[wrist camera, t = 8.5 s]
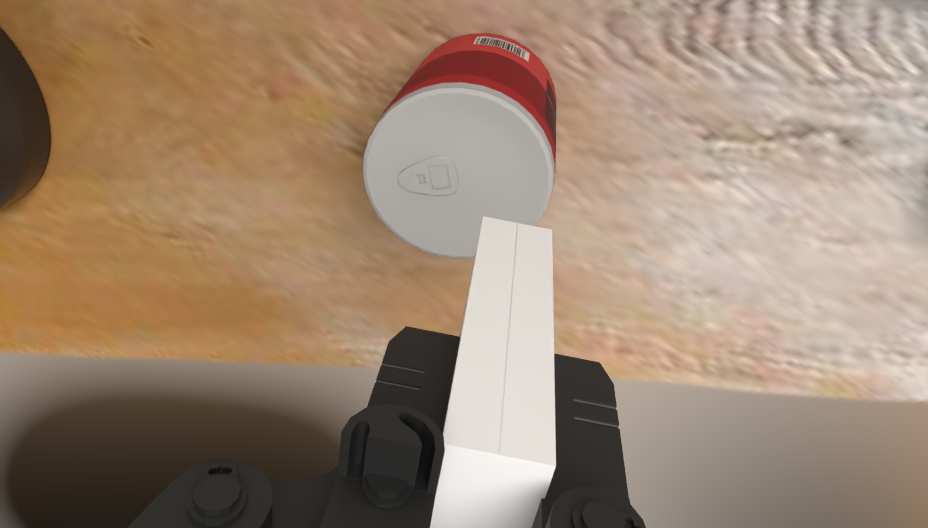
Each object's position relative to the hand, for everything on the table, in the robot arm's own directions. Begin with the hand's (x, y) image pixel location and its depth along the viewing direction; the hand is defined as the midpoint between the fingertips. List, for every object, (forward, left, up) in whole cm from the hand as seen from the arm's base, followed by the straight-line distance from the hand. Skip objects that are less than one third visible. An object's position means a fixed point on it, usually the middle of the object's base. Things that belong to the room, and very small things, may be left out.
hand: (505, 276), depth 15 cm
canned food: (-2, -4, -23) cm, 24 cm away
